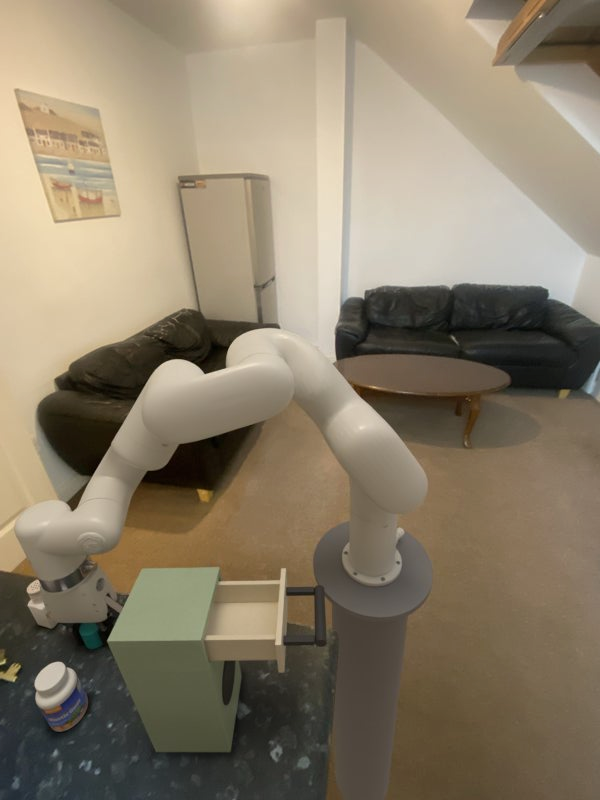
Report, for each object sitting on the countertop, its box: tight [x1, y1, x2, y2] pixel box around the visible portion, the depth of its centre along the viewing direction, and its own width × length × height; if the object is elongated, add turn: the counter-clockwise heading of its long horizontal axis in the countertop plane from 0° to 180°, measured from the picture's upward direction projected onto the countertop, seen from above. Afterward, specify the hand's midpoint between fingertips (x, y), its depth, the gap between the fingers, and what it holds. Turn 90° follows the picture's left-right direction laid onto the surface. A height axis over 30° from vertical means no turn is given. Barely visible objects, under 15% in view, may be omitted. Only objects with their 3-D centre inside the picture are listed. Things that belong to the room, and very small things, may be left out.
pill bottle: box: [34, 661, 89, 732], centre depth 57 cm, size 5×5×10 cm
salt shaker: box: [26, 579, 59, 629], centre depth 71 cm, size 4×4×10 cm
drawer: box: [203, 567, 328, 674], centre depth 48 cm, size 16×10×5 cm, turn 89°
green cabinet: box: [107, 566, 242, 753], centre depth 52 cm, size 11×10×26 cm
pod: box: [79, 623, 104, 650], centre depth 69 cm, size 4×4×4 cm
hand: (96, 637), depth 69 cm, fingers closed on pod, 4 cm apart
